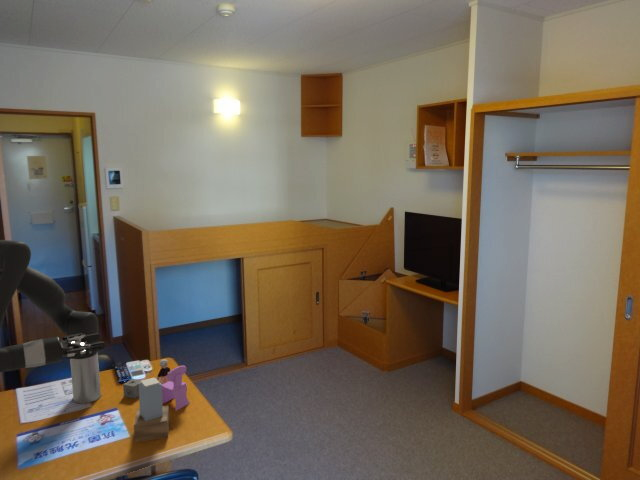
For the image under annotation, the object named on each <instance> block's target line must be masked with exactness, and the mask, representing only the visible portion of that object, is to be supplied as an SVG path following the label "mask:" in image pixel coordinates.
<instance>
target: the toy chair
mask: <svg viewBox="0 0 640 480" xmlns="http://www.w3.org/2000/svg"><path fill="white" fill-rule="evenodd" d="M170 370H171V371H170V372H168V375H167V379H168V380H169V382H167V383H164V384H162V405H163V404H165V403H167V402H169V401H171V400H173V399H175V409H174V410H175V411H178V410H180V409H182V408H184V407H186V406H187V405H189V404H190V401H189V399H188V397H187V391H188V386H187V382H185V381H183V376H184V374H186V372H187V367H186V365H179V366H177V367H174V368H172V369H170Z"/></svg>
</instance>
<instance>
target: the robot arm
mask: <svg viewBox="0 0 640 480" xmlns="http://www.w3.org/2000/svg"><path fill="white" fill-rule="evenodd" d="M31 258H32V251H31V249H30V247H29V245H28V244H27V243H26V242H24V241H21V240H8V239H7V240H5V239H0V330H1V329H2V326H3V322H4V318H5V315H6V313H7V311H8V308H9V306H10V303H11V301H12V299H13V297H14V296H15V294H16V291H17V290H18V291H19V292H20V293H21V294H22V295H24V297H25V298H27V299H28V300H29V301H30V302H31V303H32V304H33V305H34V306H36V307H37V308H38V309H39V310H40V311H41V312H43V314H45V315H46V316H48V317H49V318H50V319H51V320H52V321H53V322H54V324H55V325H56V326H57V328H59V331H61V333H63V334H65V335H66V336H62V337H61V339H60V337H59V336H53V337H47V338H41V339H36V340H31V341H28V342H23V343H19V344H14V345H9V346H8V345H7V346H5V347H1V348H0V373H3V372H12V371H16V370H23V369H25V368H26V369H27V368H36V367H41V366H45V365H50V364H56V363H60V362H62V361H63V356H66V358H67V360H69V362H70V363H69V364H70V373H71V375H70V376H71V385H72V395H73V396H72V398H73V402H74V403H76V404H81V405H82V404H89V403H93V402H95V401H97V400H99V399H100V398H101V397H102V392H101V379H100V378H101V377H100V368H99V366H100V365H99V355H98V353H99V352H98V351H102V350H105V349H106V348H105V347H106V346H105V342H104V341H100V340H101V339H100V333H99V318H98V317H97V315H96V313H94V312H89V311H88V312H87V311H80V310H79V311H77V310H73V309H72V308H71V307H70V306H68V305H67V304H66V294H65V290H64V289H63V287H61V286H60V284H59V283H57V282H56V281H55V280H54V279H53V278H51V277H50V276H49V275H47V274H45V273H43V272H41V271H39V270H37V269H34V268H32V267H31V266H29V264H30V263H31V262H30V261H31Z"/></svg>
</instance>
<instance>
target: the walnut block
mask: <svg viewBox="0 0 640 480" xmlns="http://www.w3.org/2000/svg"><path fill="white" fill-rule="evenodd" d="M169 407H170V406H169V405H162V411H163V416H161V417H158V418H155V419H152V420H149V421H145V420H144V419H143V418H142V416H141V415H140V408H137V409H136V414H135V417H134V418H135V419H134V422H133V431H134V443H138V442H145V441H152V440H159V439H160V440H161V439H165V438H169V431H170V410H169V409H170V408H169Z"/></svg>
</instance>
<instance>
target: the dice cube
mask: <svg viewBox="0 0 640 480" xmlns="http://www.w3.org/2000/svg"><path fill="white" fill-rule="evenodd" d="M140 381H142V380H140V379H135V378H131V379H130V380H128V381H127V382H125V383H123V384H122V387H123V397H124V398H127V399H128V398H129V399H136V398H139V382H140Z"/></svg>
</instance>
